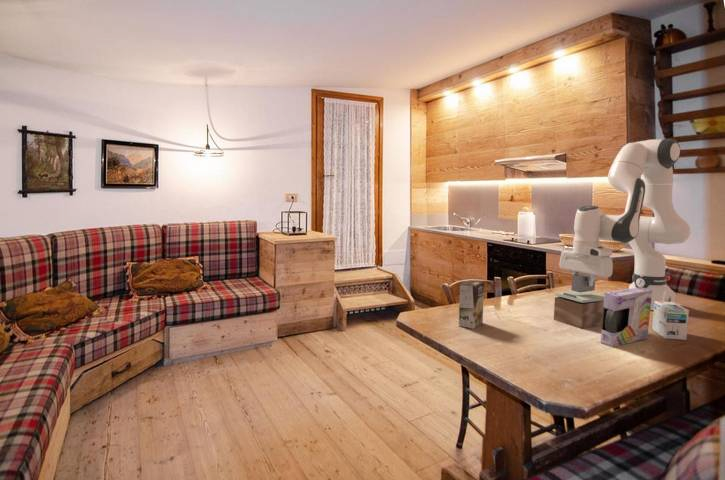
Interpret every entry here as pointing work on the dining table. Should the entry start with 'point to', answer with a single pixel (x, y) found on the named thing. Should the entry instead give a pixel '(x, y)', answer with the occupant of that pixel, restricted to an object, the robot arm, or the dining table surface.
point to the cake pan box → (625, 316)
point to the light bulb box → (670, 320)
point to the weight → (581, 283)
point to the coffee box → (471, 304)
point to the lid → (581, 296)
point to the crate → (578, 312)
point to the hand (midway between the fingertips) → (583, 284)
